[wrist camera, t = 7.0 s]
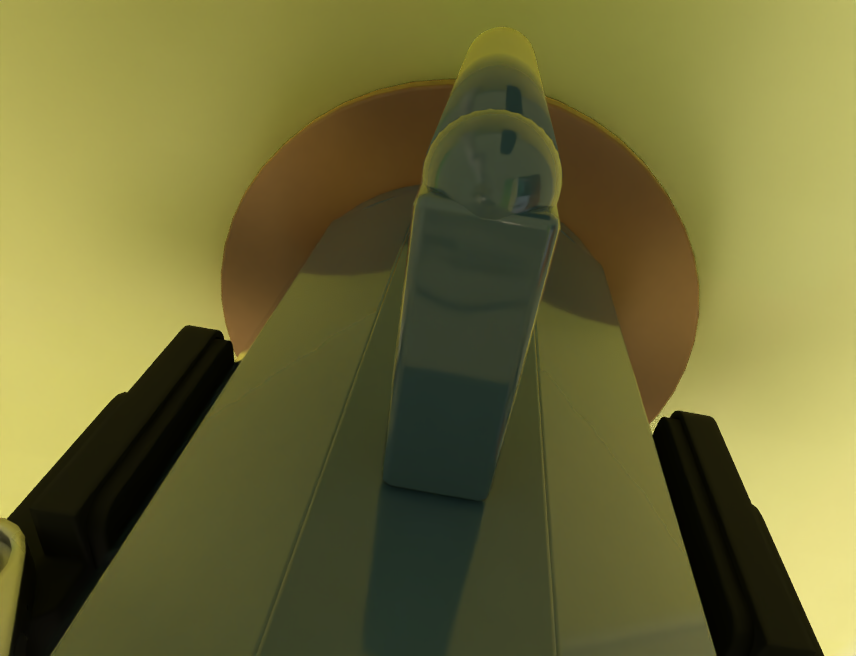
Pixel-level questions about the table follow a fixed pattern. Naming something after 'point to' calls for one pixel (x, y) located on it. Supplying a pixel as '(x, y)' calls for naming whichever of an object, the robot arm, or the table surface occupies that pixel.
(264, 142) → the table surface
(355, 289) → the mug
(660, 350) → the coaster
